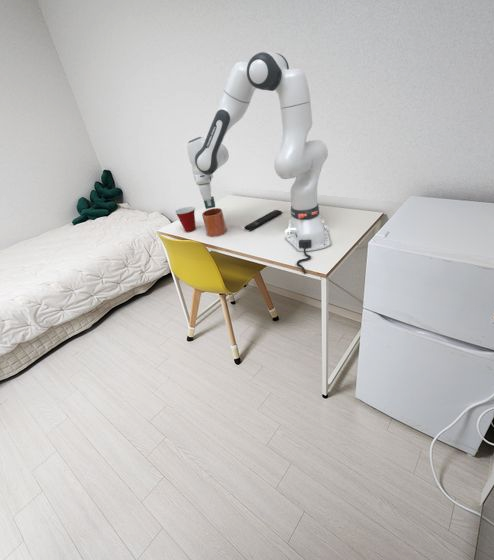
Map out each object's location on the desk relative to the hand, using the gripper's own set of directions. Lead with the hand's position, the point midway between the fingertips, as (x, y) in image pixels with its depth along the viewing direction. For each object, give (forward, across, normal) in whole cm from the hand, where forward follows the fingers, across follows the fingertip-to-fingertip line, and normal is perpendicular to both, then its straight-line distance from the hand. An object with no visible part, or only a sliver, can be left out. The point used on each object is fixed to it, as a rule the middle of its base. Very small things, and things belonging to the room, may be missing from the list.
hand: (209, 203), depth 152 cm
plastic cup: (+16, -10, -14) cm, 24 cm away
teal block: (+2, 0, 0) cm, 2 cm away
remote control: (+16, -2, +26) cm, 30 cm away
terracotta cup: (+16, 0, 0) cm, 16 cm away
